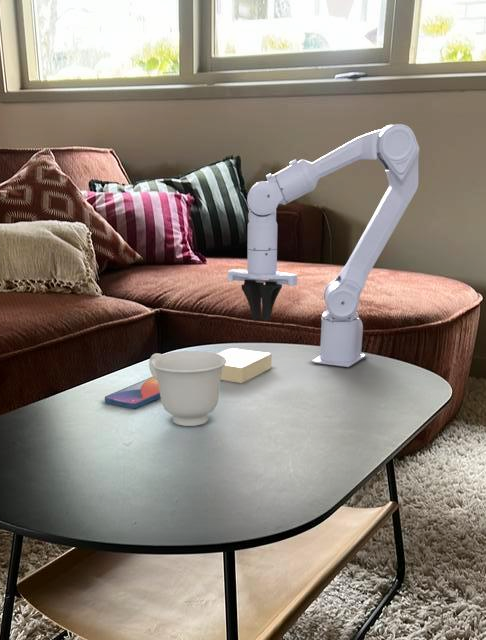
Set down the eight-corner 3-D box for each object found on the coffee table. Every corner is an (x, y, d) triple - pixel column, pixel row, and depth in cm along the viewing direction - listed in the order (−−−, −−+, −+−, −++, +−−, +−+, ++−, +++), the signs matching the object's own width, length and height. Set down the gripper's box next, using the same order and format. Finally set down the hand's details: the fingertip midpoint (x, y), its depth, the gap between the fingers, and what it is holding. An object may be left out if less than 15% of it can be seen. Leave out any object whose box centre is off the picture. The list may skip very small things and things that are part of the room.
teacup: (179, 400, 134) (177, 344, 129) (242, 419, 124) (242, 358, 120) (126, 417, 126) (122, 358, 122) (190, 438, 117) (187, 374, 112)
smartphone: (102, 403, 134) (101, 397, 133) (155, 380, 145) (154, 375, 144) (134, 410, 130) (134, 404, 129) (186, 386, 141) (186, 381, 140)
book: (230, 362, 156) (230, 347, 155) (271, 368, 152) (271, 352, 151) (199, 377, 147) (198, 361, 146) (241, 383, 143) (241, 367, 141)
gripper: (219, 249, 148) (220, 320, 154) (286, 253, 141) (284, 327, 147) (237, 245, 153) (237, 313, 159) (303, 248, 146) (300, 320, 152)
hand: (261, 319), depth 153 cm, fingers closed
